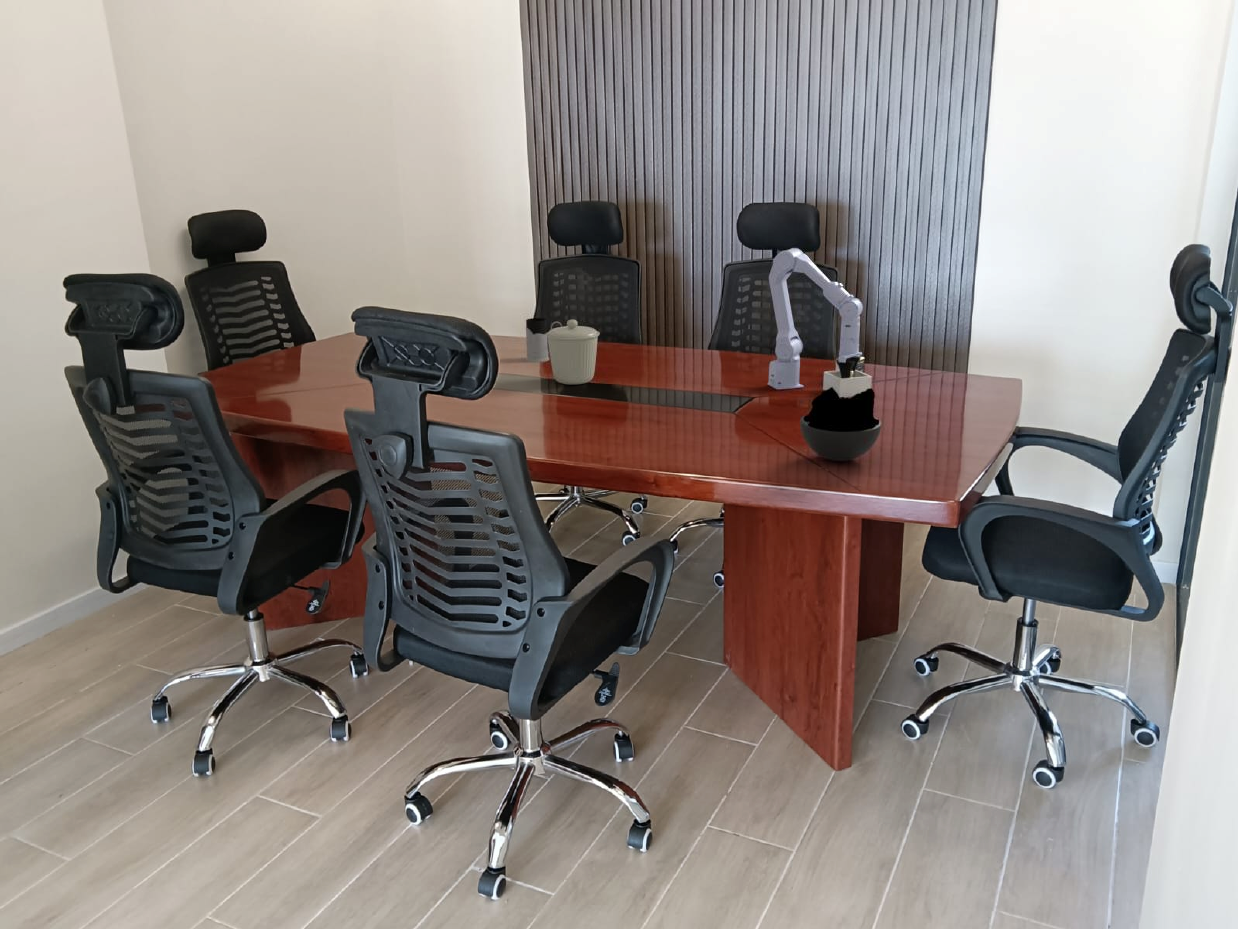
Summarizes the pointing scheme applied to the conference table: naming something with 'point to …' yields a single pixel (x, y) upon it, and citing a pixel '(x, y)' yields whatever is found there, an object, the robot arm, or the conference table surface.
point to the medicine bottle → (859, 366)
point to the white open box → (847, 383)
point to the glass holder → (537, 340)
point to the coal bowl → (841, 425)
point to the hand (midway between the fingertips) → (847, 380)
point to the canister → (573, 353)
